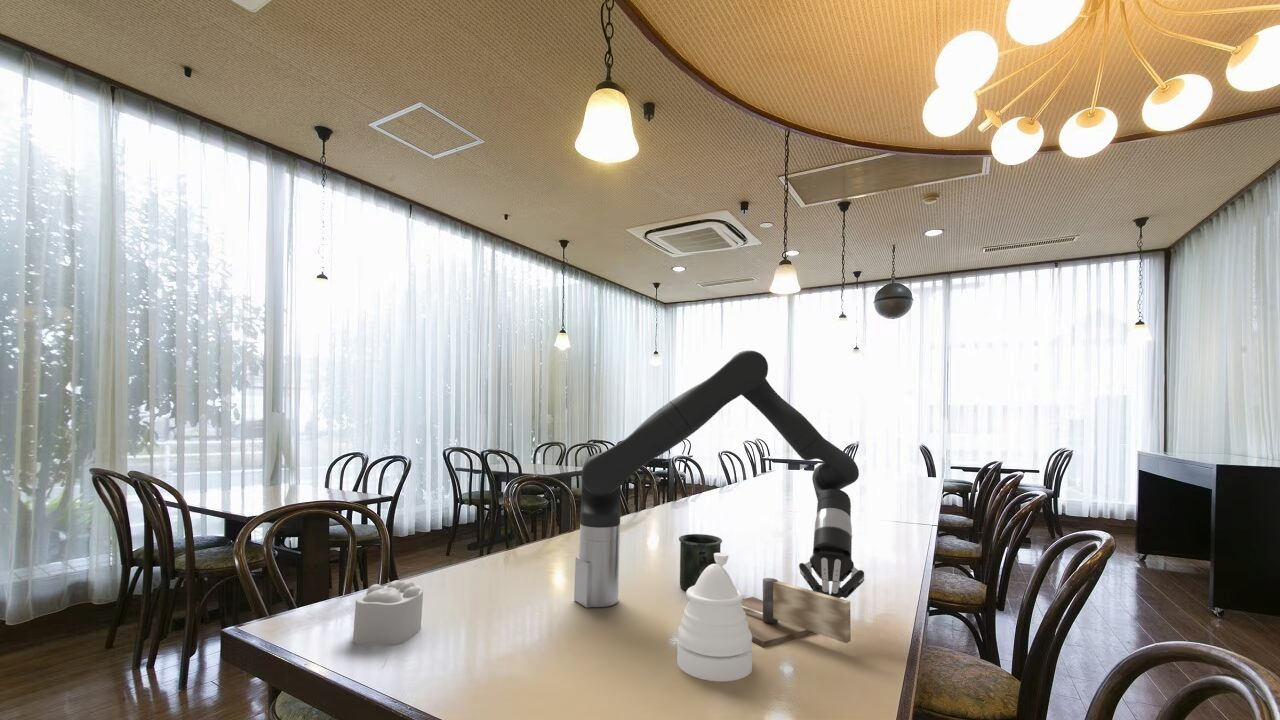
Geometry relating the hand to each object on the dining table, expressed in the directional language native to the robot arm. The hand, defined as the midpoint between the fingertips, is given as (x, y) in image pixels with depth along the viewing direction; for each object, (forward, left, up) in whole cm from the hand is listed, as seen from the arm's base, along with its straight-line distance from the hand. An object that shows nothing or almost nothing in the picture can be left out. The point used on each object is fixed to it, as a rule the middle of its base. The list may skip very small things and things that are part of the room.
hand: (829, 614), depth 105 cm
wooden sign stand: (-3, +15, -5) cm, 17 cm away
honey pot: (-24, +5, -6) cm, 25 cm away
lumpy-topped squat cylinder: (-69, +47, -6) cm, 84 cm away
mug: (0, +38, -6) cm, 38 cm away
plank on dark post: (-3, +9, -4) cm, 10 cm away
